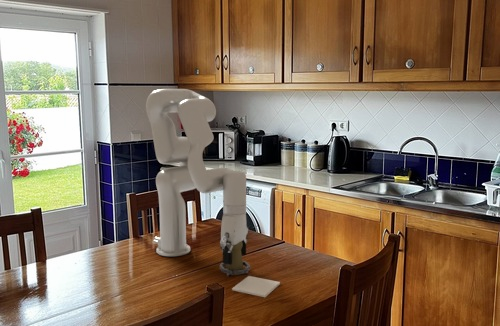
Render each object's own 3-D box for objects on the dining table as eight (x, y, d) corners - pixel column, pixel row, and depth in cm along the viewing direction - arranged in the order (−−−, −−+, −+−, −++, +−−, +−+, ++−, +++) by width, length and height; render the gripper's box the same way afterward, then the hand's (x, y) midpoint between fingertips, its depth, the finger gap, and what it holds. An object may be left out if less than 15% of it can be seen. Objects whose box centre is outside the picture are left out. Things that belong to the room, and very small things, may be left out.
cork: (241, 275, 156) (241, 243, 154) (223, 274, 157) (223, 242, 155) (245, 268, 162) (245, 237, 160) (228, 267, 163) (228, 236, 161)
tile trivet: (232, 290, 144) (232, 288, 144) (248, 277, 154) (248, 275, 154) (265, 297, 140) (265, 295, 139) (280, 283, 149) (280, 282, 149)
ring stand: (214, 273, 157) (214, 267, 157) (229, 264, 166) (229, 258, 165) (240, 279, 153) (240, 272, 152) (254, 269, 161) (254, 262, 161)
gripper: (237, 202, 165) (237, 249, 168) (211, 213, 150) (211, 265, 153) (256, 204, 162) (256, 253, 165) (231, 216, 147) (232, 269, 149)
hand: (234, 259), depth 159 cm, fingers open, 9 cm apart
